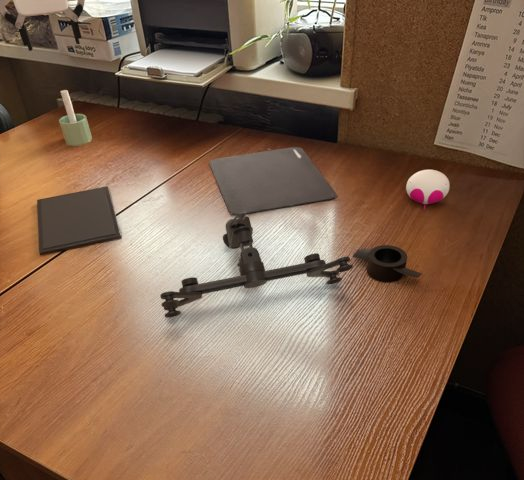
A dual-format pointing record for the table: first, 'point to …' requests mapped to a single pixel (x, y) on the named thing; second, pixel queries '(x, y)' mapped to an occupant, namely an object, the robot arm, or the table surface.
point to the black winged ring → (385, 263)
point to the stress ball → (427, 186)
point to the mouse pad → (269, 180)
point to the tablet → (76, 220)
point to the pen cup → (75, 130)
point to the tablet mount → (249, 269)
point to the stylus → (68, 106)
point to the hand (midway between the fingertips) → (54, 45)
